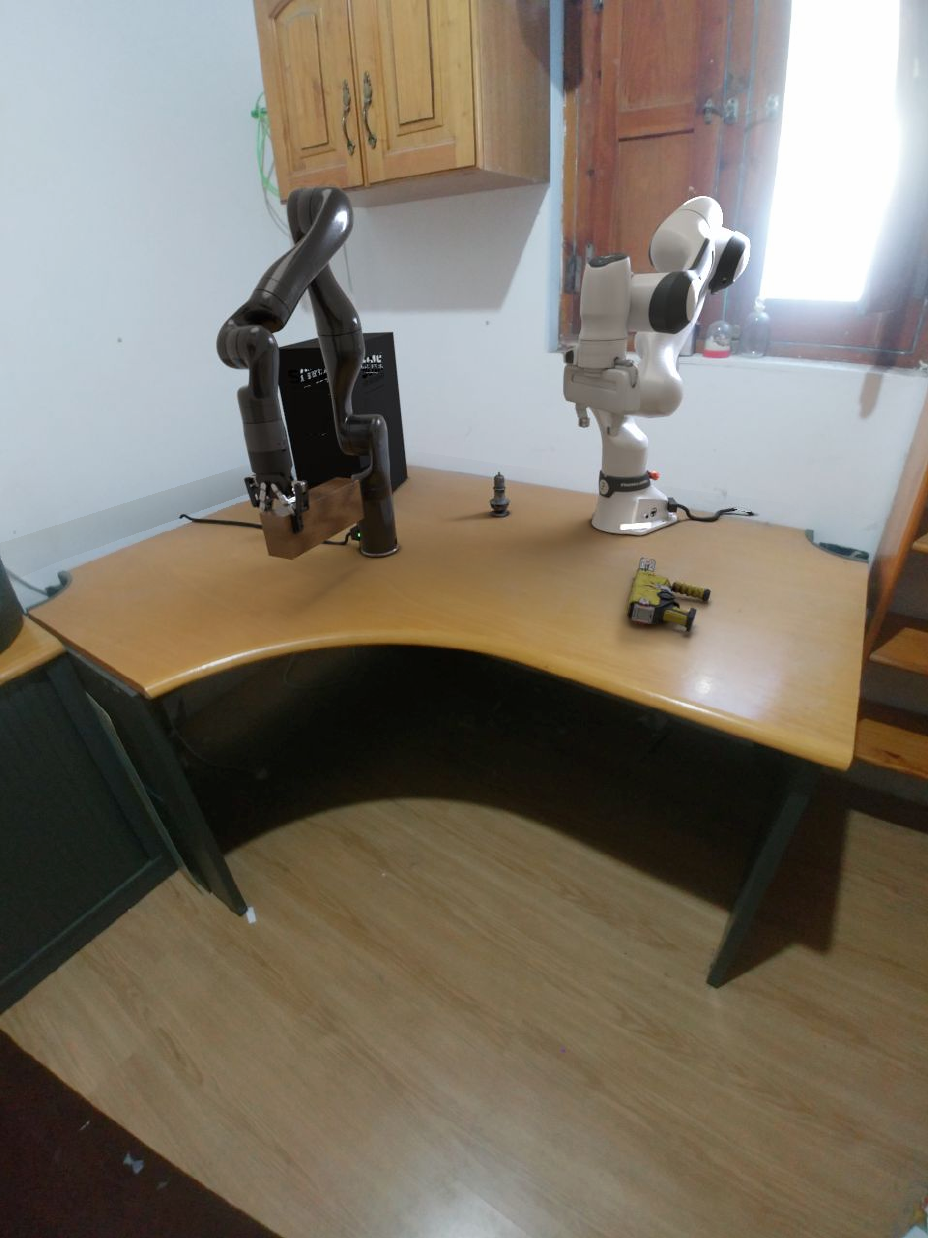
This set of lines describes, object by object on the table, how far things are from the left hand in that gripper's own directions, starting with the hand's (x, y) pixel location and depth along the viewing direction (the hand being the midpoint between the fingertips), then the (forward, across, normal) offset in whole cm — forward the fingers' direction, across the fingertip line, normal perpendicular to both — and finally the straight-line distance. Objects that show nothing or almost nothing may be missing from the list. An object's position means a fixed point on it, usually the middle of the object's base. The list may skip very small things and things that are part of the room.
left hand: (285, 529), depth 119 cm
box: (+5, 0, +10) cm, 11 cm away
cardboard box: (+17, -32, +66) cm, 76 cm away
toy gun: (+17, +70, +29) cm, 78 cm away
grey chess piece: (+17, +17, +66) cm, 70 cm away
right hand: (-14, +52, +37) cm, 65 cm away
